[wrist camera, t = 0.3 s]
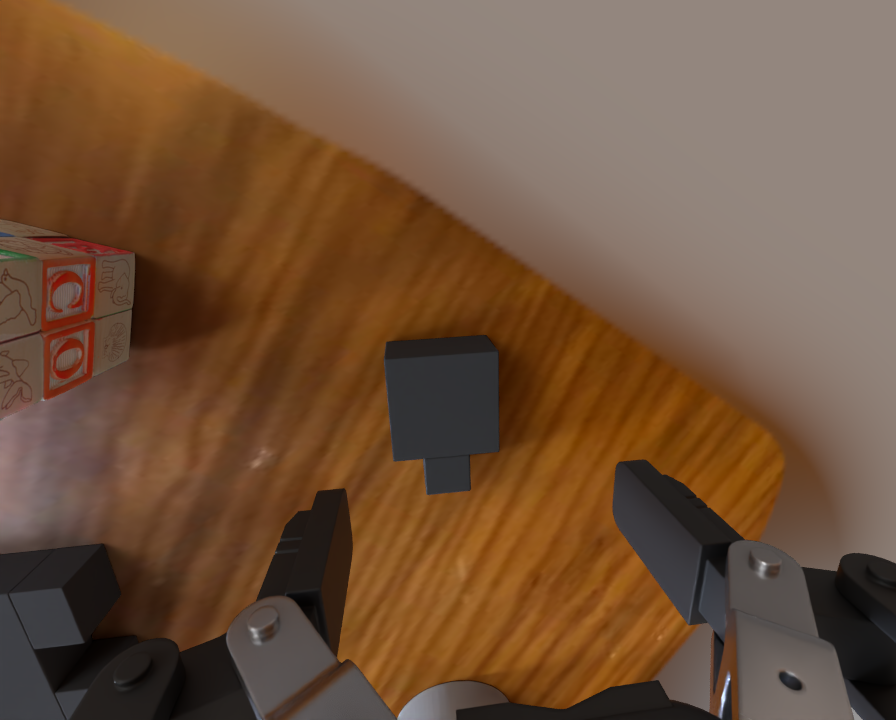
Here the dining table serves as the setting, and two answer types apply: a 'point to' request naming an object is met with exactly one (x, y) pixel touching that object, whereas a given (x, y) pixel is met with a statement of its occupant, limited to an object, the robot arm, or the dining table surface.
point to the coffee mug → (450, 700)
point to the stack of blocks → (59, 313)
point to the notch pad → (53, 629)
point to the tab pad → (443, 405)
